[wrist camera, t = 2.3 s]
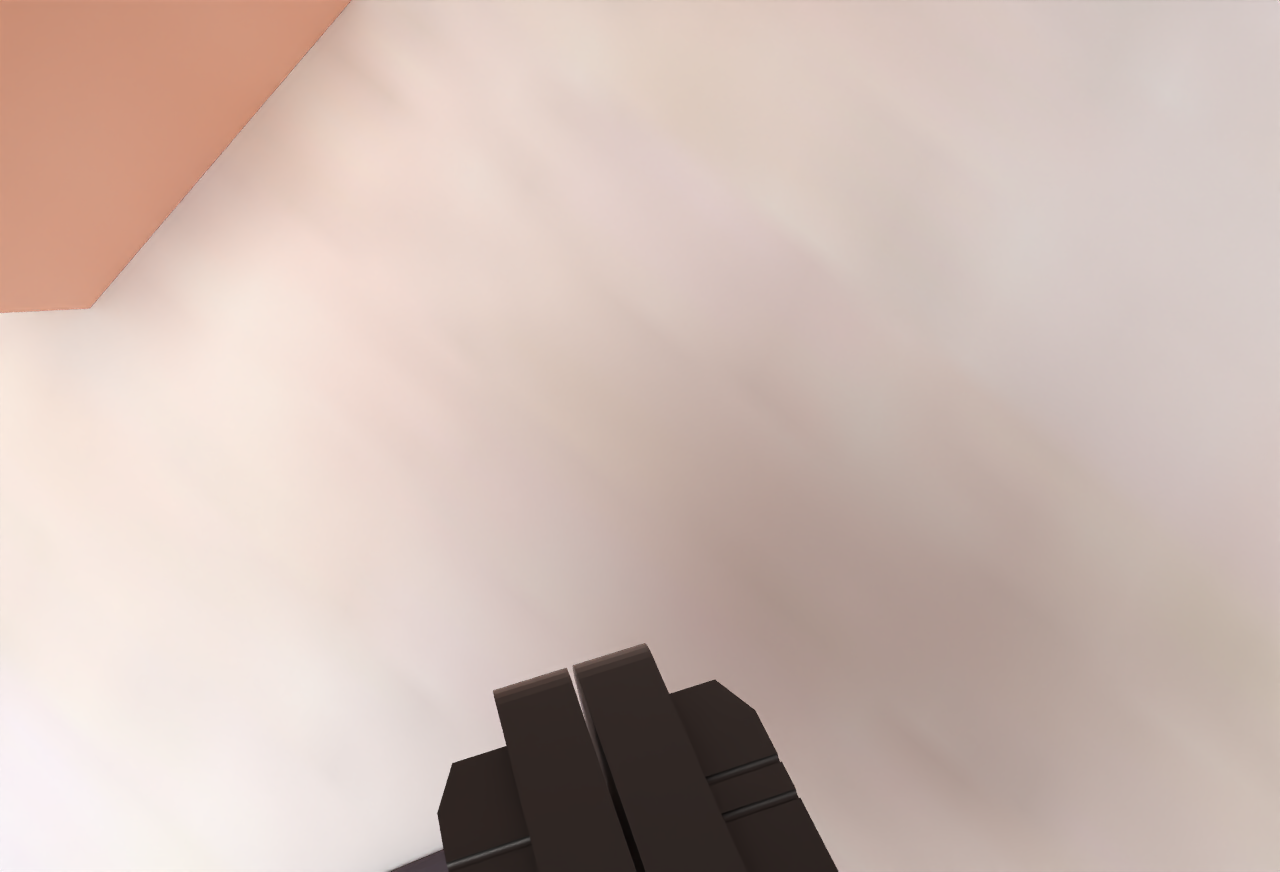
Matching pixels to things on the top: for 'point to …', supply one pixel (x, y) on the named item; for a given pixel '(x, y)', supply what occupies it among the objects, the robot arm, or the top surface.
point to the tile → (123, 124)
